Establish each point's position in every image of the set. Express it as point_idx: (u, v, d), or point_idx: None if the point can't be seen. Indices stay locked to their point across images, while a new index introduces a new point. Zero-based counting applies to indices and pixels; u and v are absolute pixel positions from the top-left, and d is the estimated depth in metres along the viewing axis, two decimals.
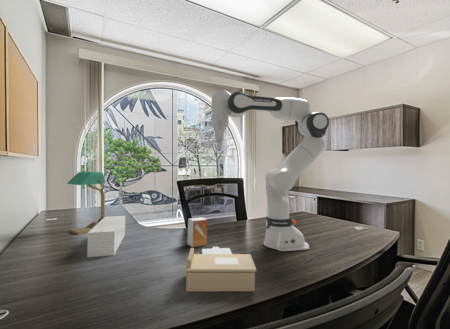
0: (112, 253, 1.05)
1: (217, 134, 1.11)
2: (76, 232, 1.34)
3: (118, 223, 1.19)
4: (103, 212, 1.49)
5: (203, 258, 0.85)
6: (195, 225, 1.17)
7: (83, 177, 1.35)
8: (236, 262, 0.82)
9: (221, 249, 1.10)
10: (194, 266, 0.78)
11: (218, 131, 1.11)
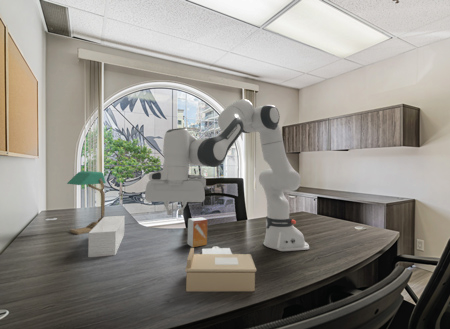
0: (113, 253, 1.05)
1: (204, 196, 0.82)
2: (76, 232, 1.34)
3: (118, 223, 1.19)
4: (103, 212, 1.49)
5: (203, 258, 0.85)
6: (195, 225, 1.17)
7: (83, 177, 1.35)
8: (236, 262, 0.82)
9: (221, 249, 1.10)
10: (194, 266, 0.78)
11: (204, 191, 0.82)
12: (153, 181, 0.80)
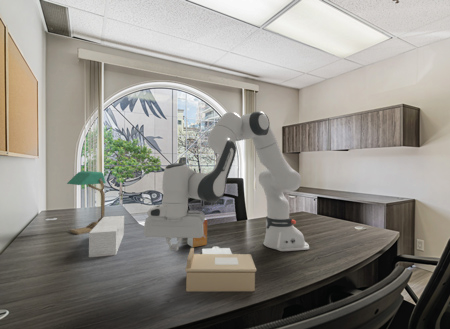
0: (114, 253, 1.05)
1: (203, 231, 0.82)
2: (76, 232, 1.34)
3: (118, 223, 1.19)
4: (103, 212, 1.49)
5: (203, 258, 0.85)
6: None
7: (83, 177, 1.35)
8: (236, 262, 0.82)
9: (221, 249, 1.10)
10: (194, 266, 0.78)
11: (202, 227, 0.82)
12: (152, 218, 0.80)
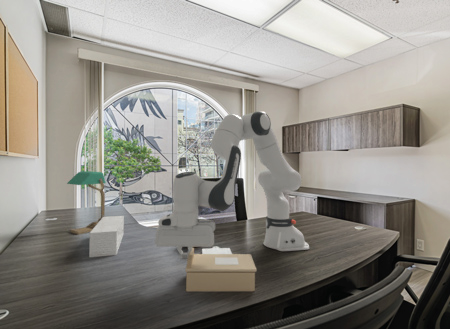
0: (114, 253, 1.05)
1: (213, 240, 0.82)
2: (76, 232, 1.34)
3: (118, 223, 1.19)
4: (103, 212, 1.49)
5: (203, 258, 0.85)
6: None
7: (83, 177, 1.35)
8: (236, 262, 0.82)
9: (221, 249, 1.10)
10: (194, 266, 0.78)
11: (213, 235, 0.82)
12: (163, 227, 0.80)
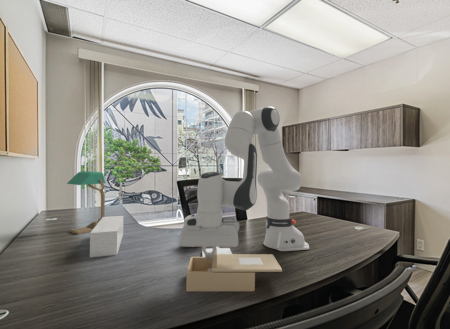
0: (115, 253, 1.05)
1: None
2: (76, 232, 1.34)
3: (118, 223, 1.19)
4: (103, 212, 1.49)
5: (227, 258, 0.86)
6: None
7: (83, 177, 1.35)
8: (260, 262, 0.82)
9: (221, 249, 1.10)
10: (219, 266, 0.79)
11: (237, 235, 0.83)
12: (188, 227, 0.80)
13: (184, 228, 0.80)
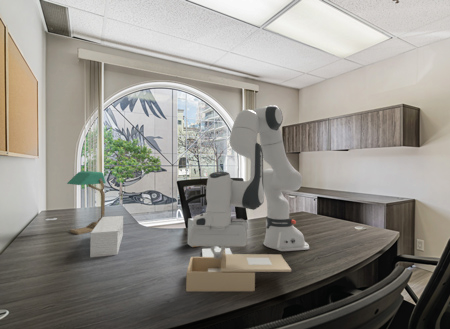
0: (115, 253, 1.05)
1: None
2: (76, 232, 1.34)
3: (118, 223, 1.19)
4: (103, 212, 1.49)
5: (235, 258, 0.86)
6: None
7: (83, 177, 1.35)
8: (269, 262, 0.82)
9: None
10: (228, 266, 0.79)
11: (246, 235, 0.83)
12: (198, 227, 0.80)
13: (193, 228, 0.80)
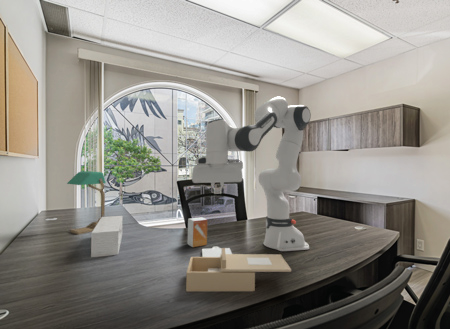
0: (116, 252, 1.06)
1: None
2: (76, 232, 1.34)
3: (119, 223, 1.19)
4: (103, 212, 1.49)
5: (235, 258, 0.86)
6: (195, 225, 1.17)
7: (83, 177, 1.35)
8: (269, 262, 0.82)
9: (221, 249, 1.10)
10: (228, 266, 0.79)
11: (241, 173, 0.96)
12: (199, 165, 0.93)
13: (195, 166, 0.93)
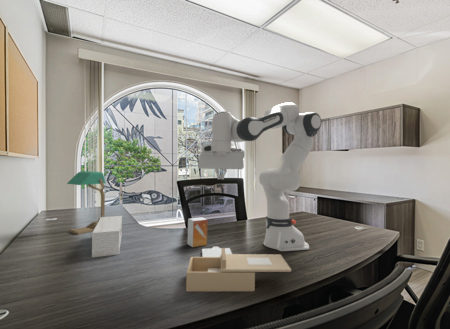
0: (117, 252, 1.06)
1: (243, 164, 1.05)
2: (76, 232, 1.34)
3: (119, 223, 1.19)
4: (103, 212, 1.49)
5: (235, 258, 0.86)
6: (195, 225, 1.17)
7: (83, 177, 1.35)
8: (269, 262, 0.82)
9: (221, 249, 1.10)
10: (228, 266, 0.79)
11: (243, 161, 1.06)
12: (205, 153, 1.03)
13: (201, 153, 1.03)
